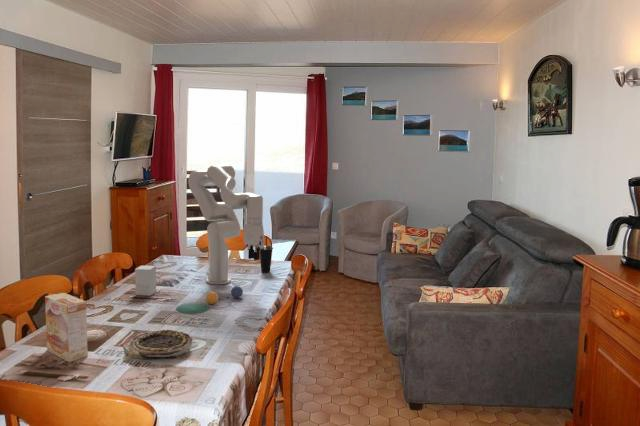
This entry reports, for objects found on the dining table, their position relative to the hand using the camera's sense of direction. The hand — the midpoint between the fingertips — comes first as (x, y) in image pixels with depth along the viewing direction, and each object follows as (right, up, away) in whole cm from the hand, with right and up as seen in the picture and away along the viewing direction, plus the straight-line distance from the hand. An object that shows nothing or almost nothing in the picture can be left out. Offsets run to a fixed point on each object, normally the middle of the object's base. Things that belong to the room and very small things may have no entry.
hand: (253, 258), depth 262 cm
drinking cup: (+1, -11, +45) cm, 46 cm away
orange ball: (-17, -16, -15) cm, 28 cm away
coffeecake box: (-55, -27, -73) cm, 96 cm away
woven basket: (-24, -27, -68) cm, 77 cm away
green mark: (-24, -20, -22) cm, 38 cm away
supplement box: (-51, -16, -3) cm, 53 cm away
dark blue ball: (-7, -15, -5) cm, 18 cm away
